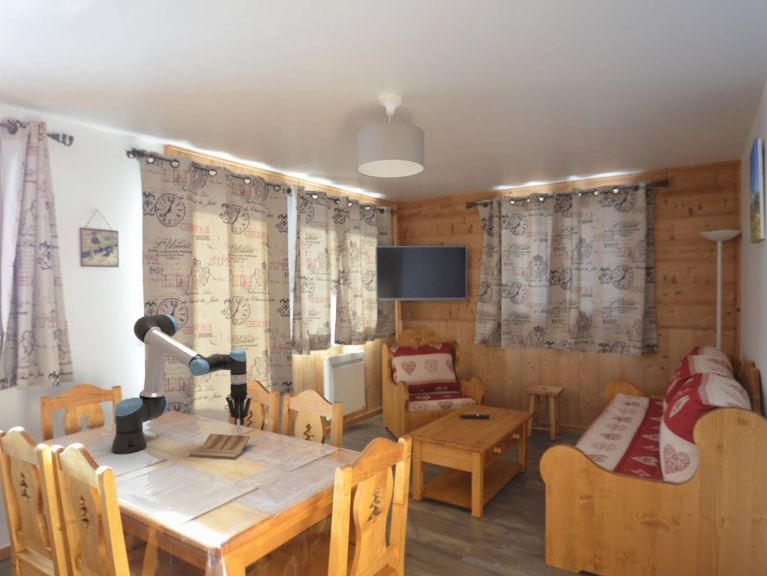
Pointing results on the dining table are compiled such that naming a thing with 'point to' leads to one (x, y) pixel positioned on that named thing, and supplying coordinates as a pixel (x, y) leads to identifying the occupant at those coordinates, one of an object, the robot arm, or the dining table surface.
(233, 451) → the underlay
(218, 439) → the plank
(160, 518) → the dining table surface
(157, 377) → the robot arm
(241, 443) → the plank
